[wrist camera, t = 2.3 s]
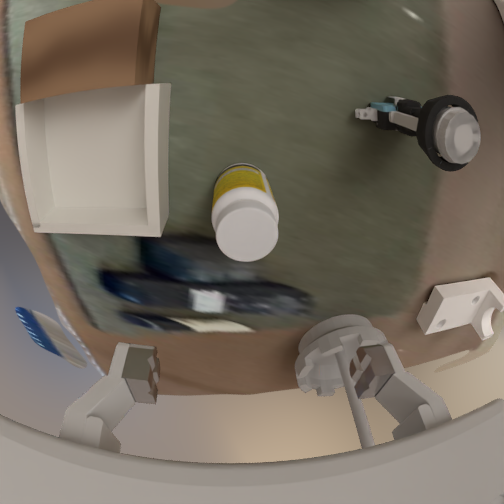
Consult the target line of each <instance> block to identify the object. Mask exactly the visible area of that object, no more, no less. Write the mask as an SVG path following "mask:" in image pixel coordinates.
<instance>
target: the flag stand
mask: <svg viewBox="0 0 504 504" xmlns="http://www.w3.org/2000/svg"><path fill="white" fill-rule="evenodd" d="M377 344H380V345H381V344H388V341H387V339H386V337H385V335H384V333H383V332H382V331H380V330H379V329H377V328H374V327H372V325H371V323H370V321H369V320H368V319H366V318H365V317H362V316H360V315H354V314H346V315H339V316H335V317H332V318H329V319H327V320H324V321H322V322H320V323H318V324H317V325H315V326H314V327H312V328H311V329H310V330H309V331H308V332H307V333H305V335H304V336H303V337H302V339H301V341H300V343H299V348H298V349H299V354H300V355H299V356H298V358H297V360H296V362H295V372H296V377H297V381H298V386H299V388H300V389H301V390H302V391H304V392H305V393H306V392H308V391H310V390H312V389H316V391H317V395H318V396H332V395H334V393H335V390H334V389H335V388H341V387H344V386H345V390H346V393H347V396H348V400H349V403H350V407H351V410H352V413H353V417H354V421H355V424H356V428H357V431H358V435H359V439H360V443H361V446H362V448H367V447H371V446H375V444H374V440H373V436H372V433H371V429H370V426H369V423H368V420H367V416H366V413H365V410H364V407H363V403H362V400H361V399H358V397H357V394H356V391H355V388H354V386H355V383H356V382H355V381H354V380H353V379H351V376H350V371H349V367H350V362H351V360H352V358H354V357H355V356H356V355H357V353H356V351H357V349H358V348H359V347H361V346H369V345H377Z"/></svg>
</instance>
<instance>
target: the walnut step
mask: <svg viewBox="0 0 504 504" xmlns="http://www.w3.org/2000/svg"><path fill="white" fill-rule="evenodd" d="M160 10H161V7H160V6H159V5H158V4H157V3H156V2H155V1H154V0H93V1H89V2H85V3H81V4H77V5H74V6H70V7H67V8H63V9H60V10H57V11H54V12H51V13H48V14H45V15H43V16H40V17H37V18H34V19H32V20H29V21H27V22H25V30H24V38H23V47H22V60H21V104H22V103H26V102H30V101H34V100H38V99H43V98H47V97H52V96H57V95H62V94H68V93H74V92H80V91H86V90H93V89H101V88H110V87H120V86H132V85H143V84H153V81H154V66H155V53H156V43H157V33H158V25H159V17H160Z"/></svg>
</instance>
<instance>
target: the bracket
mask: <svg viewBox="0 0 504 504" xmlns="http://www.w3.org/2000/svg"><path fill="white" fill-rule="evenodd" d="M495 308H497V309H498V310H499V311H500V312H502V311H504V294H503V292H502V291H501V290H500V289H499V288H498V286H497V285H496V284H495V283H494V282H493V281H492V279H491V278H490V277H488V278H482V279H476V280H470V281H464V282H457V283H451V284H444V285H437V286H434V289H433V291H432V293H431V295H430V298H429V300H428V301H427V302H424V303H423V305H422V308H421V310H420V312H419V314H418V316H417V318H416V320H417V322H418V324H419V325H420V327H421V329H422V331H423V332H424V334H425V335H426V334H431V333H435V332H439V331H443V330H447V329H451V328H455V327H458V326H462V325H466V324H469V323H471V324H472V326H473V327H474V329H475V330H476V332H477V333H478V335H479V336H480V338H481V340H485V339H488V338H490V337H492V335H493V334H494V332H493V330H492V327H491V315H492V312H493V310H494V309H495Z"/></svg>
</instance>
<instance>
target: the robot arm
mask: <svg viewBox="0 0 504 504" xmlns="http://www.w3.org/2000/svg"><path fill="white" fill-rule="evenodd" d="M494 2H495V3H496V5H497V7H498V9H499V11H500V14H501V16H502V19H503V22H504V0H494ZM356 353H357V355H356V356H355V357H354V358H352V360H351V362H350V367H349V371H350V376H351V379H353V380H354V381H355V382H356V383H355V386H354V388H355V391H356V394H357V397H358V399H364V398H371V397H375V398H376V400H377V401H378V402H379V403H380V404H381V405H382V406H383V407H384V408H385V409H386V410H387V411H388V412H389V413H390V414H391V415H392V416H393V417H394V418H395V419H396V420H397V421H398V422H399V423H400V425H398V426H397V427H396V428H395V429H394V430H393V432H392V433H393V437H394V440H393V441H390V442H386V443H383V444H379V445H375V446H371V447H367V448H362V449H358V450H354V451H349V452H344V453H338V454H333V455H327V456H321V457H314V458H307V459H299V460H289V461H277V462H263V463H198V462H182V461H172V460H162V459H154V458H147V457H140V456H134V455H128V454H123V453H120V447H121V443H120V442H119V441H118V439H117V438H116V437H115V436H114V435H113V433H112V430H113V429H114V428H115V427H116V426H117V425H118V423H119V422H120V421H121V420H122V419H123V418H124V416H125V415H126V414H127V413H128V412H129V410H130V409H131V408H132V407H133V406H134V405H135V402H139V403H149V404H156V398H157V392H158V389H157V386H156V383H157V382H158V381H159V378H160V361H159V358H157V348H156V347H154V346H145V345H137V344H130V343H122V342H119V343H118V344H117V345H116V349H115V352H114V355H113V359H112V362H111V366H110V369H109V373H108V376H103V377H102V378H101V379H100V380H99V381H98V382H96V383H95V384H94V385H93V386H92V387H91V388H90V389H89V390H87V391H86V392H85V393H84V394H83V395H82V396H81V397H80V398H78V399H77V400H76V401H75V402H74V403H73V404H71V405H70V406H69V407H68V408H67V409H66V412H65V416H64V419H63V423H62V427H61V431H60V435H59V437H56V436H53V435H50V434H47V433H44V432H41V431H38V430H36V429H33V428H31V427H28V426H26V425H23V424H21V423H18V422H15V421H13V420H11V419H9V418H7V417H4V416H2V415H0V504H504V400H503V399H496V400H493V401H491V402H490V403H488V404H486V405H484V406H482V407H480V408H477V409H476V410H473V411H471V412H469V413H467V414H465V415H462V416H460V417H458V418H455V419H453V420H452V418H451V416H450V413H449V411H448V409H447V407H446V404H445V402H444V400H443V398H442V397H441V396H439V395H438V394H437V393H435V392H434V391H433V390H431V389H430V388H429V387H428V386H426V385H425V384H424V383H422V382H421V381H420V380H419V379H417V378H416V377H415V376H413V375H412V374H411V373H409V372H408V371H407V372H405V370H404V368H403V366H402V363H401V361H400V359H399V357H398V355H397V353H396V351H395V349H394V347H393V345H392V344H391V343H388V344H381V345H380V344H377V345H369V346H361V347H359V348H358V349H357V351H356Z"/></svg>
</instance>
